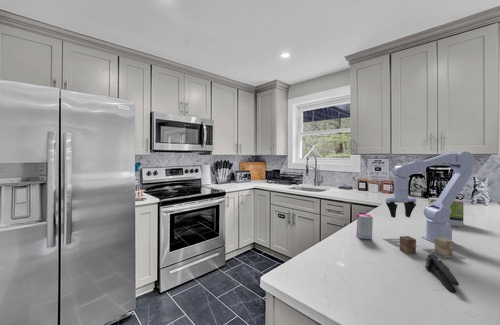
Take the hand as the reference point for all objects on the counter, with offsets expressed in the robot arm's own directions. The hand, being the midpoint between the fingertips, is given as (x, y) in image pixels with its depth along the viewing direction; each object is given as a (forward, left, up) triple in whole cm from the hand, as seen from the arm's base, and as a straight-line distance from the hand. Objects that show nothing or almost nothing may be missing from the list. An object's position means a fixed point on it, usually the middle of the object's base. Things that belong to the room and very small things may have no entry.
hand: (400, 217), depth 112 cm
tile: (+5, +6, -10) cm, 13 cm away
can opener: (+14, +36, -11) cm, 40 cm away
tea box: (-46, -22, -11) cm, 52 cm away
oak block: (-4, +19, -10) cm, 22 cm away
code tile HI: (-4, +19, -10) cm, 22 cm away
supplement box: (+18, -1, -11) cm, 21 cm away
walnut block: (+9, +16, -10) cm, 21 cm away
